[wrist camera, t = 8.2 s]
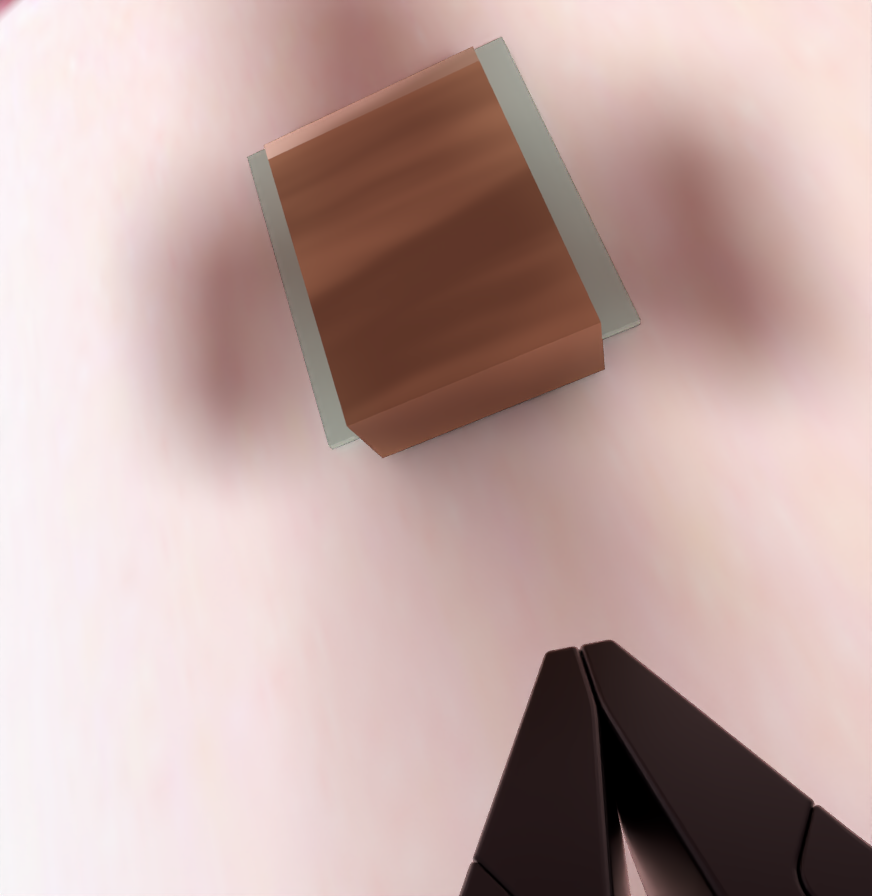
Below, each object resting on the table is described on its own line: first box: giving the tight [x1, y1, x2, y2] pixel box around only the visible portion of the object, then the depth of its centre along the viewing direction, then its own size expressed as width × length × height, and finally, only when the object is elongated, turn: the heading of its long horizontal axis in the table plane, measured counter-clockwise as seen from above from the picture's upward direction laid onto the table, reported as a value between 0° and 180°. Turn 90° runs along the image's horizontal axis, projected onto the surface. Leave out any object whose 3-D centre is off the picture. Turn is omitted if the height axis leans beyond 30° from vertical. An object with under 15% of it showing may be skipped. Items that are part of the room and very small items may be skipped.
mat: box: [247, 37, 640, 449], centre depth 24 cm, size 12×10×1 cm
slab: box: [264, 47, 605, 458], centre depth 22 cm, size 3×7×10 cm
